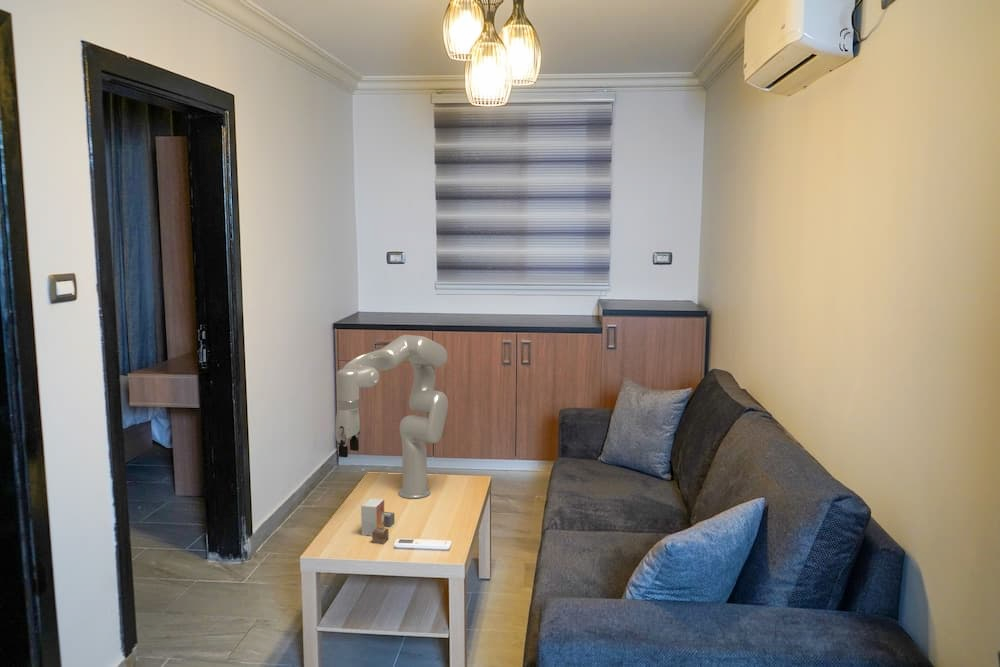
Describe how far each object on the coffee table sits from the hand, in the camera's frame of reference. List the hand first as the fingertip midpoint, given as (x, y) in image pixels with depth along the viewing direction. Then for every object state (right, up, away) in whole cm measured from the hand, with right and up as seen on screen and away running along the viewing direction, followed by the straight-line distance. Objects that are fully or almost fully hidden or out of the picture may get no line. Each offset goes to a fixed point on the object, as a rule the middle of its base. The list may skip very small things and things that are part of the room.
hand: (348, 453), depth 262 cm
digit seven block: (+13, -28, -12) cm, 33 cm away
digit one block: (+13, -26, +3) cm, 29 cm away
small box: (+9, -27, -3) cm, 29 cm away
